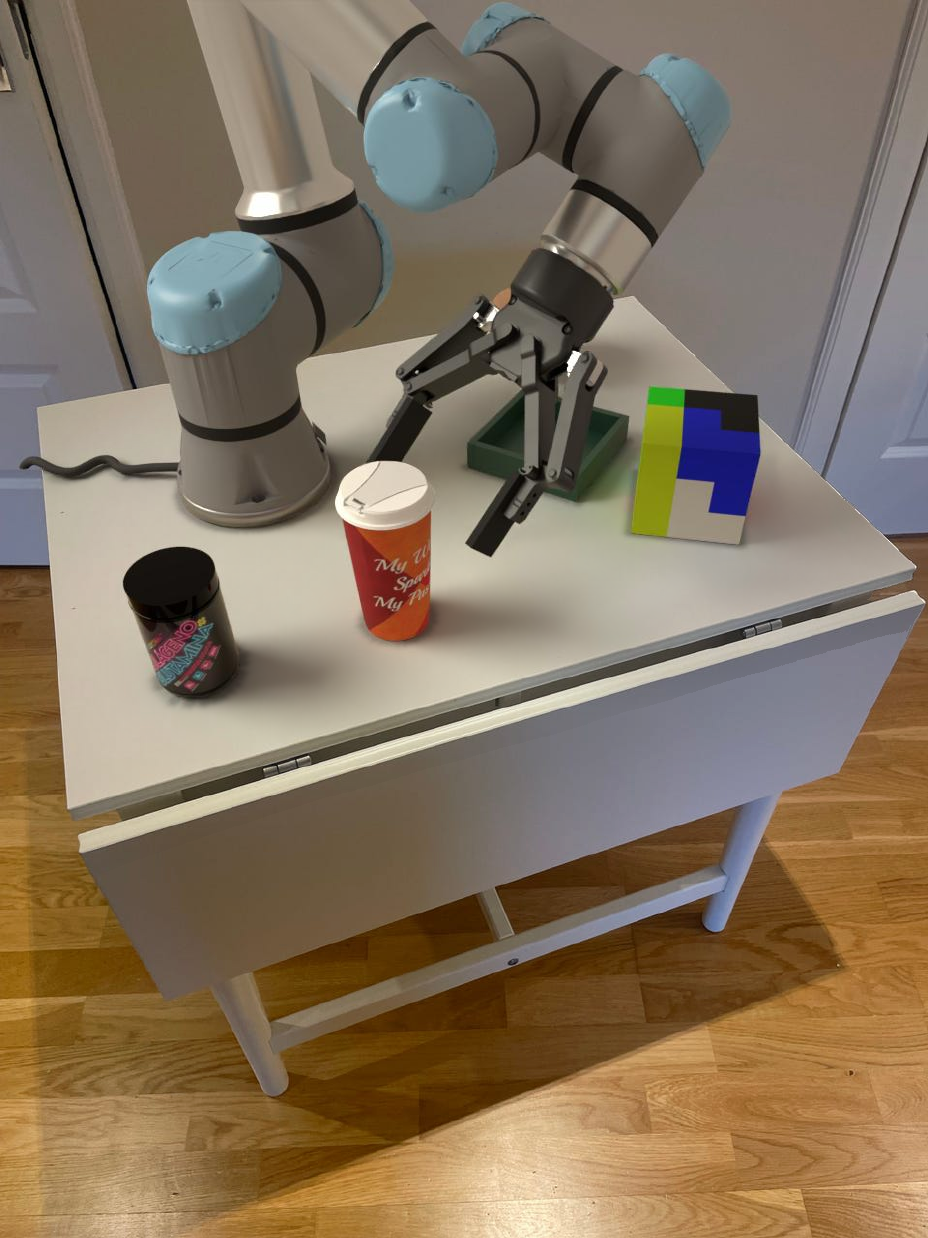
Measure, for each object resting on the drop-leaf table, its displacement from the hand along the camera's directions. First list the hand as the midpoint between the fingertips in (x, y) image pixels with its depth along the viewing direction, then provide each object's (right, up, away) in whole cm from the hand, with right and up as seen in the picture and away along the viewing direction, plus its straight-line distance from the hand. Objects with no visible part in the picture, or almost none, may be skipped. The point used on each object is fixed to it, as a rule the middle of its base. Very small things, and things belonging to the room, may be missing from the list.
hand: (425, 508), depth 73 cm
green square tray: (+12, +9, +24) cm, 28 cm away
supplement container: (-18, -13, +2) cm, 23 cm away
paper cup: (-3, -9, +6) cm, 11 cm away
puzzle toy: (+25, +2, +17) cm, 30 cm away
